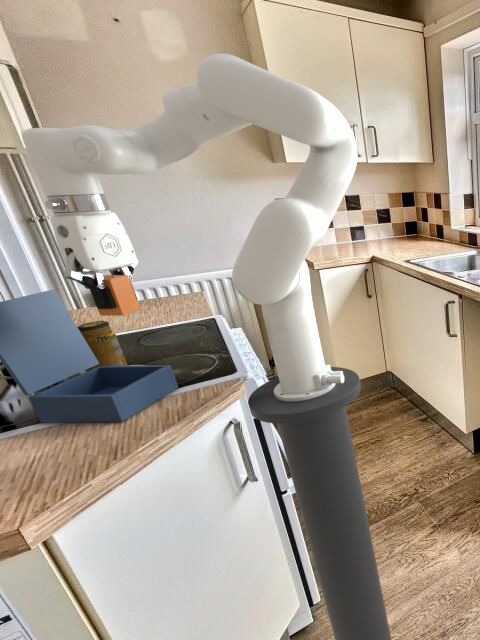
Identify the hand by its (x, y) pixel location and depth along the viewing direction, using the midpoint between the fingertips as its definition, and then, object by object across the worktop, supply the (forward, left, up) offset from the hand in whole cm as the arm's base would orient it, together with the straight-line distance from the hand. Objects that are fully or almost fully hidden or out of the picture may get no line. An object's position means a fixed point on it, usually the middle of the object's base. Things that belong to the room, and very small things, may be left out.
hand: (118, 303), depth 81 cm
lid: (+12, +5, -5) cm, 14 cm away
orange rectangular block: (0, 0, -2) cm, 2 cm away
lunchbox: (+3, +5, -19) cm, 20 cm away
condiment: (+17, -10, -19) cm, 28 cm away
